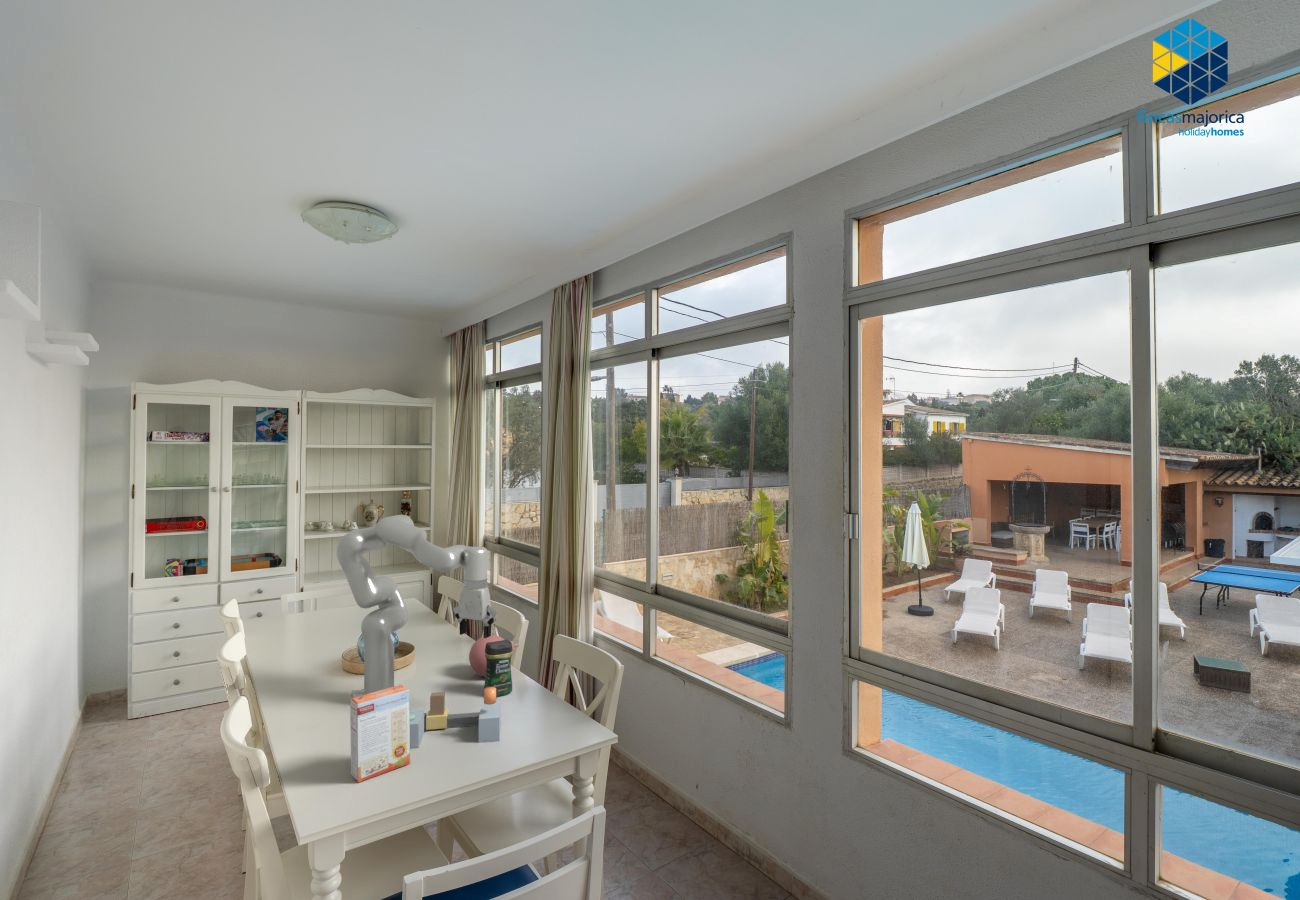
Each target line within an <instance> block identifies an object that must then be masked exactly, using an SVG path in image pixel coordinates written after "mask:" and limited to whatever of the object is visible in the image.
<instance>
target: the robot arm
mask: <svg viewBox="0 0 1300 900" xmlns="http://www.w3.org/2000/svg"><path fill="white" fill-rule="evenodd" d="M427 539H428V533H427V531H426V530H425V529H423V528H420V527H418V526H416V525H415V523H414V521H413V520H412V518H411V517H409V516H408V515H405V514H396V515H391V516H386V517H383V518H381V519H379V520H378V522H377V523H376V524H375V525H374V526H369V527H365V528H360V529H355V530H352V531H350V532H348V533H346V534H344V535H343V536H342V537H341V538H340V540H339V541H338V543H337V545H336V558H337V560H338V564H339V565H340V567H341V569H342V571H343V573H344V575H345V577H346V580H347V583H348V585H349V588H350V590H351V593H352V596H353V599H354V600H355V602H356V605H358V607H359V608H361V609H370V608H373V607H376V606H378V608H377V609H374V610H373V611H371V612H369V613H367V615H365V616H364V617H363V620H362V621H361V626H360V628H361V635H362V639H363V641H362V642H363V656H364V657H363V658H364V659H363V667H364V669H363V671H364V672H363V677H364V678H363V686H364V687H363V688H362V689H359V690H357V689H356V690H351V691H350V697H352V698H354V697H358V696H361V695H365V694H369V693H372V692H376V691H380V690H383V689H387V688H390V687H394V686H395V644H394V642H393V639H392V637H391V634H393V633H394V632H397V631H398V630H400V629H401V628H404V626H405V625H406V623H407V622H408V618H409V617H408V610H407V606H406V603H405V602H404V600H403V596H402V594H401V592H400V589H399V587H398V585H397V582H396V581H395V580H393V579H392V577H390V576H387V575H378V576H376V575H375V573H374V569H373V567H372V565H371V564H370V562H369V561H368V560H367V558H365V557H364V554H365V553H371V552H374V551H375V552H376V551H378V550H381V549H383V548H386V547H388V546H390V545H392V546H395V547H398V548H399V549H402V550H404V551H407V552H409V553H411V555H413V557H414V558H415V559H416V560H417V561H419V562H420V563H421V564H422V565H425V566H426V567H428V568H431V569H433V570H436V571H439V572H444V573H445V572H446V573H447V572H450V571H453V570H455V569H458V568H462V567H463V579H462V580H461V584H463V587H461V592H460V596H459V604H458V605H456V606H454V607H453V609H452V610H453V612H454V615H455V618H456V619H457V623H458V624H459V626H458V627H459V635H460V636H462V635H465V634H467V632H468V620H471V621H481V622H482V623H483V624H484V625H483V636H484V638H488V637H490V636H491V635H492V625H493V624H494V622H495V621H496V620H497V617H498V615H499V612H498V611H497V610H495V609H494V608H492V606H491V605H492V603H491V594H490V591H489V590H490V589H489V588H488V549H487V548H486V547H484V546H470V545H469V546H468V545H465V544H456V545H452V546H447V547H445V548H444V547H440V546H438V545H435V544H433V543H432V542H430V541H428V540H427Z"/></svg>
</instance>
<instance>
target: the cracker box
mask: <svg viewBox="0 0 1300 900" xmlns="http://www.w3.org/2000/svg"><path fill="white" fill-rule="evenodd" d="M349 700H350V701H349V702H350V703H349V704H350V705H349V706H350V707H349V709H350V710H349V713H350V714H349V715H350V716H349V717H350V718H349V721H350V774H351V776H352V778H353V779H355V781H356V782H357V783H362V782H364V781H366V780H369V779H372V778H375V777H377V776H379V775H383V774H385V773H389V772H391V771H393V770H396V769H399V768H402V767H404V766H407V765H409V764H410V763H411V757H410V756H411V755H410V754H411V752H410V749H411V748H410V724H409V711H410V689H409V688H407V687H406V686H404V685H402V684H397V685H394V687H390V688H387V689H383V690H380V691H376V692H372V693H369V694H365V695H361V696H358V697H354V698H353V697H351V698H349Z"/></svg>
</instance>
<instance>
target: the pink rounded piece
mask: <svg viewBox="0 0 1300 900" xmlns="http://www.w3.org/2000/svg"><path fill="white" fill-rule="evenodd" d="M502 640H505V639H504V638H503V637H501V636H499V635H496V634H491V636H490V637H488V638H484V635H482V636H481V637H479V638H478V639H477V640H475V642H474V643H473V644H472V646H471V647H470V650H469V654H468V661H469V664H470V665H469V666H470V667H471V669H472V671H474V673H476V674H477V675H479V676H481V677H485V676H486V666H487V660H486V657H485V647H486V643H488V642H495V641H502ZM509 641H510V642H511V643H512V650H513V652H515V650H516V648H518V647H519V646H520V644H519V643H517V642H516V643H515V642H513V641H512V640H509Z"/></svg>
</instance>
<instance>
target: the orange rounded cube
mask: <svg viewBox="0 0 1300 900" xmlns="http://www.w3.org/2000/svg"><path fill="white" fill-rule="evenodd" d="M493 704H497V697H496V688H495V687H487V688H485V689H484V688H483V705H493Z"/></svg>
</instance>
